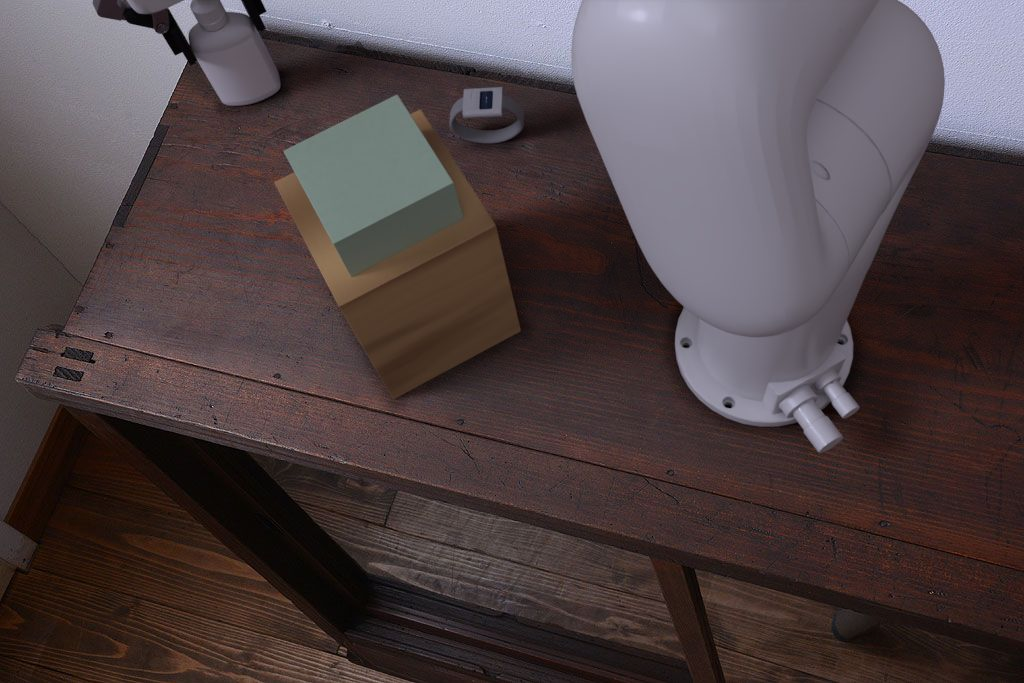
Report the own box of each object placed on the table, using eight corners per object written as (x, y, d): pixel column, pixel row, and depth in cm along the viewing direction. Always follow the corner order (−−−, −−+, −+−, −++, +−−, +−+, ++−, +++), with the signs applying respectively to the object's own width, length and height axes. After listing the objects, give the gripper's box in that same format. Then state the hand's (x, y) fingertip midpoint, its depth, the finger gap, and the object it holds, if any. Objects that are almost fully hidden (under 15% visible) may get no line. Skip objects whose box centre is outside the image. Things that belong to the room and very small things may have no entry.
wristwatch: (453, 153, 82) (443, 115, 78) (455, 127, 84) (445, 88, 79) (526, 149, 82) (520, 111, 77) (527, 123, 83) (520, 84, 78)
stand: (521, 331, 74) (496, 225, 61) (393, 399, 73) (339, 306, 60) (457, 228, 79) (420, 108, 66) (336, 290, 78) (273, 181, 64)
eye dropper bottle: (271, 113, 87) (218, 13, 76) (215, 105, 88) (155, 6, 77) (288, 75, 88) (239, -28, 78) (233, 68, 89) (176, -34, 79)
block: (464, 219, 61) (453, 182, 58) (351, 277, 60) (333, 243, 57) (410, 133, 65) (397, 93, 61) (302, 187, 64) (282, 150, 60)
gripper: (15, -68, 63) (143, 112, 79) (254, -177, 65) (331, 20, 81) (-12, -132, 67) (116, 53, 83) (216, -234, 69) (298, -33, 85)
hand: (222, 35), depth 82 cm, fingers closed on eye dropper bottle, 5 cm apart
